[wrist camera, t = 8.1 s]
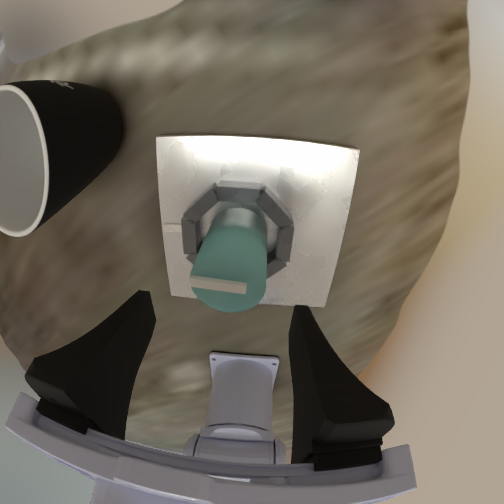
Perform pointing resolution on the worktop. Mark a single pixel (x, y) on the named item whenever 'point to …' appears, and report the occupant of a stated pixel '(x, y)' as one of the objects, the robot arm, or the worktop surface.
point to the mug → (51, 147)
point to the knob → (232, 262)
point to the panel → (289, 179)
